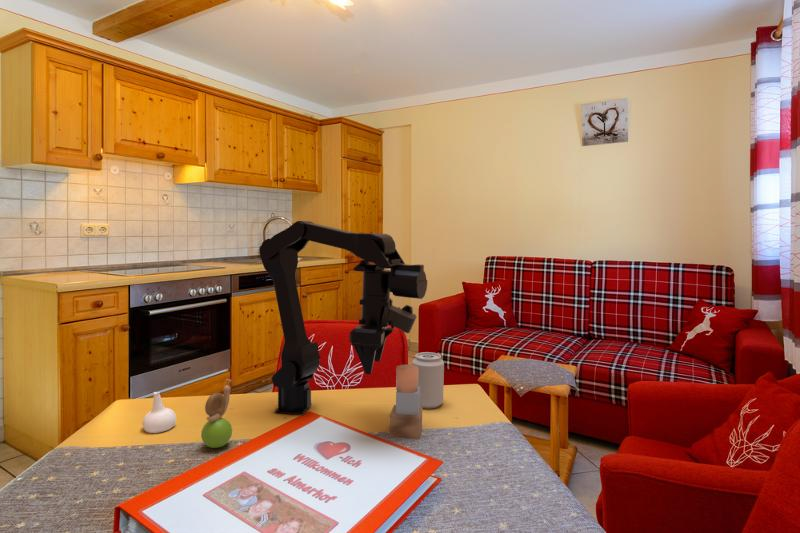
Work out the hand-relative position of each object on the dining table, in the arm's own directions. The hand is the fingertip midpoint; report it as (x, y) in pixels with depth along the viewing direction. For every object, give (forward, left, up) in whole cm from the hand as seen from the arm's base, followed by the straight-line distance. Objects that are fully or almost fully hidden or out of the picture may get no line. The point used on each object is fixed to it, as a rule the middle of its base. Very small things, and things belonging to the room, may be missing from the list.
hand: (373, 367), depth 98 cm
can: (+10, +14, -13) cm, 22 cm away
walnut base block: (+7, -2, -13) cm, 15 cm away
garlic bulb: (-43, -10, -13) cm, 46 cm away
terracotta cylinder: (+8, -2, -4) cm, 9 cm away
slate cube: (+8, -2, -8) cm, 11 cm away
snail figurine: (-27, -15, -13) cm, 33 cm away
